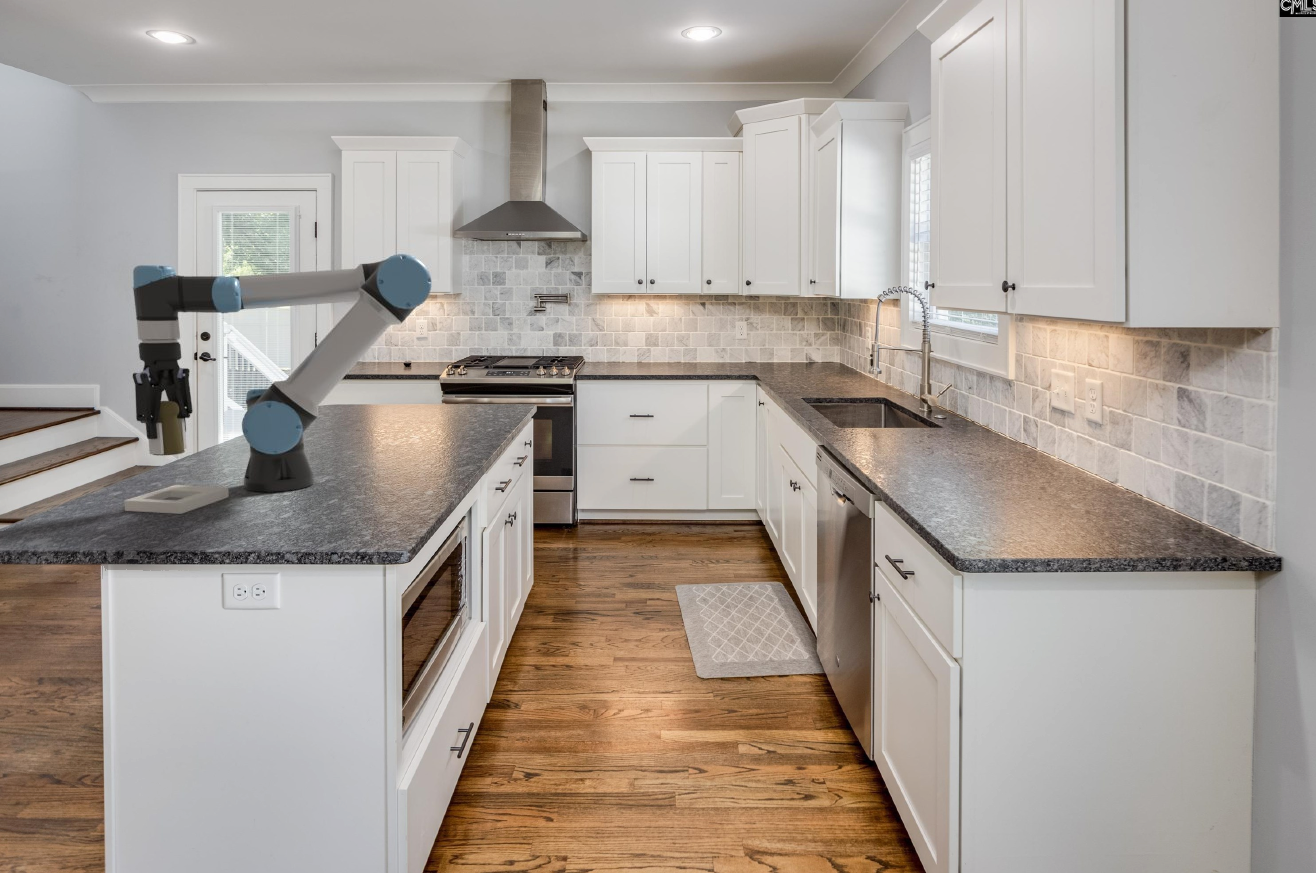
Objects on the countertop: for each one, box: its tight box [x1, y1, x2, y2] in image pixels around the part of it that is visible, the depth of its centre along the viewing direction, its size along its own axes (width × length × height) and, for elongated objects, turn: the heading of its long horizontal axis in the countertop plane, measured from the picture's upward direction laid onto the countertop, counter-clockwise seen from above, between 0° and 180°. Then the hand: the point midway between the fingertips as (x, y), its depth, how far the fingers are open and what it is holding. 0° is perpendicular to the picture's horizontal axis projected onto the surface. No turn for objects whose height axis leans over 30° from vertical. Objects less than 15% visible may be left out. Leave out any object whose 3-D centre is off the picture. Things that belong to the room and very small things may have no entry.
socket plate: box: [123, 484, 229, 514], centre depth 183 cm, size 15×13×2 cm
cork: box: [151, 400, 186, 456], centre depth 179 cm, size 6×6×11 cm
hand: (168, 451), depth 179 cm, fingers closed on cork, 6 cm apart
